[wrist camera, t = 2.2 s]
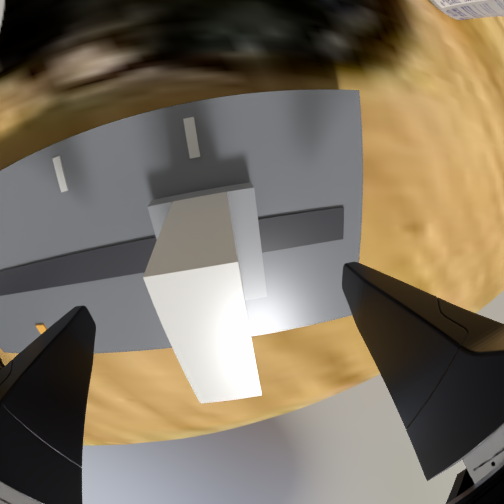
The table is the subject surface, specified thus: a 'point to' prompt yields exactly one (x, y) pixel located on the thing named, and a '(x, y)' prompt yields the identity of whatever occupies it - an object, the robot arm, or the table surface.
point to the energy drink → (470, 8)
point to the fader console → (175, 183)
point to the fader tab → (209, 286)
